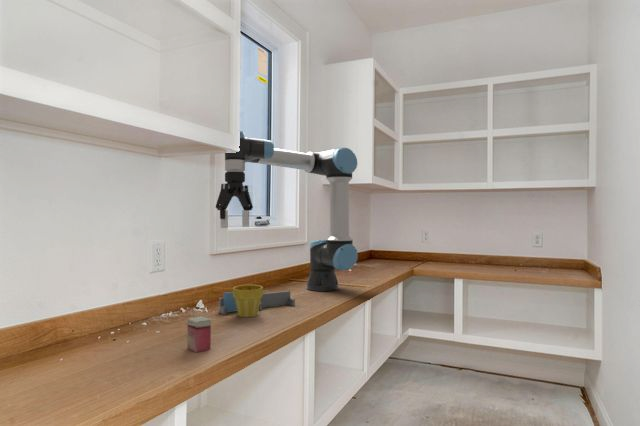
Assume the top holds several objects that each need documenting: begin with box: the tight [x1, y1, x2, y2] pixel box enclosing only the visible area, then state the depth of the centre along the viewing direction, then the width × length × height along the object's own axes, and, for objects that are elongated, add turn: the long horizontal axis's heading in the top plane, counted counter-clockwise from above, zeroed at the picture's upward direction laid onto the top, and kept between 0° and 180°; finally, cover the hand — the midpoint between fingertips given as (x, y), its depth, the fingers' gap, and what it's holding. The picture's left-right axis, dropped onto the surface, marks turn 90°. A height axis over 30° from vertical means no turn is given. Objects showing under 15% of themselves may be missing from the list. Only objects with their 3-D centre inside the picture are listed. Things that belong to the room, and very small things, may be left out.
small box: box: [186, 315, 212, 353], centre depth 108 cm, size 5×4×8 cm
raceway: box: [218, 290, 296, 316], centre depth 154 cm, size 28×5×7 cm, turn 121°
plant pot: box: [232, 284, 264, 318], centre depth 144 cm, size 10×10×10 cm
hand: (235, 227), depth 158 cm, fingers open, 13 cm apart
